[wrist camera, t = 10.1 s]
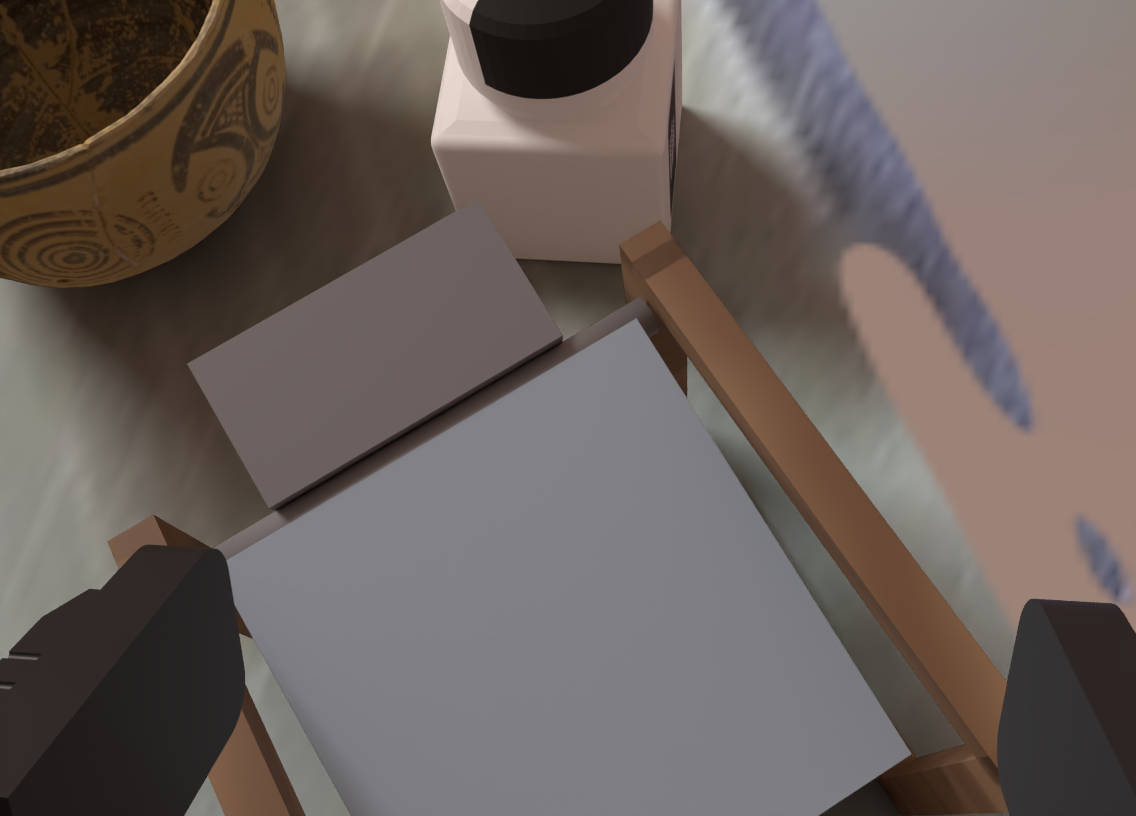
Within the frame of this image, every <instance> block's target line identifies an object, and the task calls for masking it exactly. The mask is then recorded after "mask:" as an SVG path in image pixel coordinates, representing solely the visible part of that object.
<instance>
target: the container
mask: <svg viewBox="0 0 1136 816" xmlns="http://www.w3.org/2000/svg"><path fill="white" fill-rule="evenodd" d="M440 3H441V6H442V10H443V13H444V16H445V20H446V23H447V26H448V30H449V33H450V39H449V45H448V50H447V56H446V61H445V66H444V72H443V77H442V82H441V88H440V93H439V98H438V104H437V109H436V114H435V120H434V125H433V131H432V136H431V147H432V149H433V152H434V155H435V157H436V160H437V163H438V165H439V168H440V171H441V173H442V176H443V178H444V181H445V184H446V186H447V189H448V192H449V194H450V197H451V199H452V202H453V205H454V207H455V210H456V211H457V210H459V209H460V208H462V207H464V206H466V205H468V204H469V203H471V202H473V201H475V200H476V199H479V201H480V202H481V204H482V206H483V207H484V209H485V211H486V212H487V214H488V215H489V217H490V219H491V220H492V222H493V223H494V225H495V227H496V228H497V230H498V232H499V233H500V235H501V236H502V238H503V240H504V241H505V243H506V244H507V246H508V248H509V249H510V251H511V252H512V254H513V256H514V257H515V259H534V260H554V261H573V262H593V263H613V264H621V258H620V249H619V244H620V243H622V242H623V241H625V240H627V239H629V238H630V237H632V236H634V235H635V234H637V233H639V232H641V231H642V230H644V229H646V228H648V227H649V226H651V225H653V224H654V223H656V222H658V221H661V222H662V223H663V225H664V226H665V227H666V229H667V230H668V231H669V233H670V231H671V220H672V210H673V199H674V188H675V177H676V166H677V155H678V144H679V133H680V122H681V112H682V30H681V0H440Z"/></svg>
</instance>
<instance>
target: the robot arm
mask: <svg viewBox="0 0 1136 816" xmlns="http://www.w3.org/2000/svg"><path fill="white" fill-rule="evenodd" d="M244 691H245V670H244V662H243V656H242V650H241V643H240V637H239V631H238V624H237V618H236V612H235V606H234V599H233V593H232V587H231V580H230V574H229V569H228V564H227V561H226V559H225V557H224V555H223V554H222V552H221V551H220V550H218V549H214V548H199V547H183V546H166V545H149V544H148V545H144V546H142V547H140V548H139V549H138V550H137V551H136V552H135V553H134V554H133V555H132V556H131V557H130V558H129V559H128V560H127V561H126V562H125V564H124V565H123V566H122V567H121V568H120V569H119V570H118V571H117V572H116V573H115V575H114V576H113V577H112V578H111V579H110V580H109V581H108V582H107V583H106V584H105V585H104V587H103V588H102V589H101V590H97V589H88V590H87V591H85V592H83V593H82V594H80V595H78V596H77V597H75V598H73V599H72V600H70V601H68V602H67V603H65V604H63V605H62V606H60V607H58V608H57V609H55V610H53V611H51V612H50V613H48V614H46V615H45V616H43V617H42V618H41V619H40V620H39V621H38V622H37V623H36V624H35V625H34V626H33V627H32V628H31V629H30V630H29V631H28V632H27V633H26V634H25V635H24V636H23V637H22V639H21V640H20V641H19V642H18V643H17V644H16V645H15V646H14V647H13V648H12V649H11V650H10V651H9V657H8V659H7V658H2V659H1V660H0V816H184V815H185V813H186V812H187V810H188V808H189V806H190V805H191V803H192V801H193V800H194V798H195V796H196V794H197V793H198V791H199V789H200V788H201V786H202V784H203V783H204V781H205V779H206V777H207V776H208V774H209V772H210V771H211V769H212V767H213V766H214V764H215V762H216V760H217V759H218V757H219V755H220V754H221V752H222V750H223V748H224V747H225V745H226V743H227V742H228V740H229V738H230V737H231V735H232V733H233V731H234V729H235V727H236V724H237V722H238V719H239V716H240V713H241V709H242V704H243V699H244ZM997 763H998V773H999V780H1000V785H1001V790H1002V793H1003V797H1004V800H1005V803H1006V806H1007V808H1008V811H1009V814H1010V816H1136V633H1135V632H1134V630H1133V629H1132V627H1131V625H1130V623H1129V622H1128V620H1127V618H1126V617H1125V615H1124V613H1123V612H1122V611H1121V609H1120V608H1119V607H1118V606H1117V605H1115V604H1112V603H1095V602H1078V601H1061V600H1045V599H1030V600H1029V601H1028V602H1027V603H1026V604H1025V606H1024V608H1023V611H1022V614H1021V617H1020V621H1019V625H1018V631H1017V636H1016V641H1015V646H1014V651H1013V656H1012V661H1011V666H1010V671H1009V676H1008V681H1007V686H1006V691H1005V696H1004V701H1003V706H1002V711H1001V716H1000V721H999V727H998V736H997Z"/></svg>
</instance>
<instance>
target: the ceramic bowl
mask: <svg viewBox="0 0 1136 816" xmlns="http://www.w3.org/2000/svg"><path fill="white" fill-rule="evenodd" d="M285 78H286V71H285V60H284V48H283V41H282V33H281V29H280V24H279V20H278V15H277V11H276V6H275V2H274V0H0V278H4V279H8V280H13V281H17V282H21V283H26V284H30V285H35V286H43V287H53V288H65V287H90V286H95V285H101V284H106V283H112V282H115V281H118V280H122V279H125V278H128V277H131V276H134V275H137V274H140V273H142V272H145V271H147V270H149V269H151V268H154V267H156V266H158V265H161V264H163V263H165V262H168V261H170V260H171V259H173V258H175V257H176V256H178V255H180V254H181V253H183V252H185V251H186V250H188V249H190V248H191V247H193V246H194V245H196V244H197V243H199V242H200V241H201V240H203V239H204V238H205V237H206V236H207V235H209V234H210V233H211V232H212V231H214V230H215V229H216V228H217V227H219V226H220V225H221V224H222V223H223V222H225V221H226V220H227V219H228V218H229V217H230V216H231V215H232V214H233V212H234V211H235V210H236V209H237V208H238V207H239V206H240V205H241V203H242V202H243V201H244V200H245V199H246V198H247V196H248V195H249V193H250V192H251V190H252V189H253V187H254V186H255V184H256V183H257V181H258V180H259V178H260V177H261V175H262V173H263V171H264V169H265V168H266V166H267V163H268V160H269V158H270V155H271V152H272V150H273V147H274V144H275V141H276V138H277V135H278V132H279V128H280V124H281V120H282V116H283V110H284V102H285Z"/></svg>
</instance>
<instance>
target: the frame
mask: <svg viewBox="0 0 1136 816" xmlns="http://www.w3.org/2000/svg"><path fill="white" fill-rule="evenodd" d="M619 249H620V258H621V266H622V274H623V283H624V291H625V300H626V304H628V303H630V302H632V301H633V300H635V299H637V298H638V297H639V298H641V299H642V300H643V301H644V302H645V303H646V305H647V306H648V307H649V309H650V310H651V312H652V314H653V316H654V317H655V319H656V322H657V324H658V327H659V332H658V333H656V334H655V335H653V336H651V337H650V338H649V339H650V341H651V342H652V344H653V345H654V347H655V349H656V350H657V352H658V353H659V355H660V356H661V358H662V360H663V361H664V363H665V364H666V366H667V368H668V369H669V371H670V372H671V374H672V375H673V377H674V379H675V380H676V382H677V383H678V385H679V387H680V388H681V390H682V391H683V393H684V394H685V396H686V398H687V356H688V358H689V359H690V360H691V362H692V363H693V365H694V366H695V367H696V369H697V370H698V371H699V373H700V374H701V376H702V377H703V378H704V380H705V381H706V383H707V384H708V385H709V387H710V388H711V390H712V391H713V392H714V394H715V395H716V397H717V398H718V399H719V401H720V402H721V404H722V405H723V406H724V408H725V409H726V411H727V412H728V413H729V415H730V416H731V417H732V419H733V420H734V422H735V423H736V424H737V426H738V427H739V429H740V430H741V431H742V433H743V434H744V436H745V437H746V438H747V440H748V441H749V443H750V444H751V445H752V447H753V448H754V450H755V451H756V452H757V454H758V455H759V457H760V458H761V459H762V461H763V462H764V463H765V465H766V466H767V468H768V469H769V470H770V472H771V473H772V475H773V476H774V477H775V479H776V480H777V482H778V483H779V484H780V486H781V487H782V489H783V490H784V491H785V493H786V494H787V496H788V497H789V498H790V500H791V501H792V503H793V504H794V505H795V507H796V508H797V509H798V511H799V512H800V514H801V515H802V516H803V518H804V519H805V521H806V522H807V523H808V525H809V526H810V528H811V529H812V530H813V532H814V533H815V535H816V536H817V537H818V539H819V540H820V542H821V543H822V544H823V546H824V547H825V549H826V550H827V551H828V553H829V554H830V555H831V557H832V558H833V560H834V561H835V562H836V564H837V565H838V567H839V568H840V569H841V571H842V572H843V574H844V575H845V576H846V578H847V579H848V581H849V582H850V583H851V585H852V586H853V588H854V589H855V590H856V592H857V593H858V595H859V596H860V597H861V599H862V600H863V601H864V603H865V604H866V606H867V607H868V608H869V610H870V611H871V613H872V614H873V615H874V617H875V618H876V620H877V621H878V622H879V624H880V625H881V627H882V628H883V629H884V631H885V632H886V634H887V635H888V636H889V638H890V639H891V641H892V642H893V643H894V645H895V646H896V647H897V649H898V650H899V652H900V653H901V654H902V656H903V657H904V659H905V660H906V661H907V663H908V664H909V666H910V667H911V668H912V670H913V671H914V673H915V674H916V675H917V677H918V678H919V680H920V681H921V682H922V684H923V685H924V686H925V688H926V689H927V691H928V692H929V693H930V695H931V696H932V698H933V699H934V700H935V702H936V703H937V705H938V706H939V707H940V709H941V710H942V712H943V713H944V714H945V716H946V717H947V719H948V720H949V721H950V723H951V724H952V726H953V727H954V728H955V730H956V731H957V732H958V734H959V735H960V737H961V738H962V739H963V741H964V742H965V744H964V745H961V746H957V747H954V748H950V749H947V750H943V751H940V752H936V753H933V754H929V755H926V756H922V757H919V758H916V756H915V755H914V754H913V752H912V751H911V749H910V748H909V746H908V745H907V744H906V742H905V741H904V739H903V738H902V736H901V735H900V733H899V732H898V731H897V732H898V733H899V735H900V737H901V738H902V740H903V741H904V743H905V745H906V746H907V748H908V749H909V751H910V752H911V755H909V756H908V757H906V758H905V759H903V760H902V761H900V762H899V763H897V764H896V765H894V766H893V767H891V768H890V769H888V770H887V771H885V772H884V773H882V774H881V775H879V776H878V777H876V779H877V780H878V782H879V783H880V785H881V786H882V788H883V789H884V791H885V792H886V794H887V795H888V797H889V798H890V800H891V801H892V803H893V804H894V805H895V807H896V808H897V810H898V811H899V813H900V814H901V816H910V815H938V814H966V813H994V812H1009V811H1008V808H1007V806H1006V803H1005V800H1004V797H1003V793H1002V790H1001V785H1000V780H999V773H998V763H997V736H998V727H999V721H1000V716H1001V711H1002V706H1003V701H1004V696H1005V691H1006V686H1007V682H1006V681H1005V679H1004V678H1003V677H1002V675H1001V674H1000V673H999V671H998V670H997V669H996V667H995V666H994V665H993V663H992V662H991V661H990V659H989V658H988V657H987V655H986V654H985V653H984V651H983V650H982V649H981V647H980V646H979V645H978V643H977V642H976V641H975V639H974V638H973V637H972V635H971V634H970V633H969V631H968V630H967V629H966V627H965V626H964V625H963V623H962V622H961V621H960V619H959V618H958V617H957V615H956V614H955V613H954V611H953V610H952V609H951V607H950V606H949V605H948V603H947V602H946V601H945V599H944V598H943V597H942V595H941V594H940V593H939V591H938V590H937V589H936V587H935V586H934V585H933V583H932V582H931V581H930V579H929V578H928V577H927V575H926V574H925V573H924V571H923V570H922V569H921V567H920V566H919V565H918V563H917V562H916V561H915V559H914V558H913V557H912V555H911V554H910V553H909V551H908V550H907V549H906V547H905V546H904V545H903V543H902V542H901V541H900V539H899V538H898V537H897V535H896V534H895V533H894V531H893V530H892V529H891V527H890V526H889V525H888V523H887V522H886V521H885V519H884V518H883V517H882V515H881V514H880V513H879V511H878V510H877V509H876V507H875V506H874V505H873V503H872V502H871V501H870V499H869V498H868V497H867V495H866V494H865V493H864V491H863V490H862V489H861V487H860V486H859V485H858V483H857V482H856V481H855V479H854V478H853V477H852V475H851V474H850V473H849V471H848V470H847V469H846V467H845V466H844V465H843V463H842V462H841V461H840V459H839V458H838V457H837V455H836V454H835V453H834V451H833V450H832V449H831V447H830V446H829V445H828V443H827V442H826V441H825V439H824V438H823V437H822V435H821V434H820V433H819V431H818V430H817V429H816V427H815V426H814V425H813V423H812V422H811V421H810V419H809V418H808V417H807V415H806V414H805V413H804V411H803V410H802V409H801V407H800V406H799V405H798V403H797V402H796V401H795V399H794V398H793V397H792V395H791V394H790V393H789V391H788V390H787V389H786V387H785V386H784V385H783V383H782V382H781V381H780V379H779V378H778V377H777V375H776V374H775V373H774V371H773V370H772V369H771V367H770V366H769V365H768V363H767V362H766V361H765V359H764V358H763V357H762V355H761V354H760V353H759V351H758V350H757V349H756V347H755V346H754V345H753V343H752V342H751V341H750V339H749V338H748V337H747V335H746V334H745V333H744V331H743V330H742V329H741V327H740V326H739V325H738V323H737V322H736V321H735V319H734V318H733V317H732V315H731V314H730V313H729V311H728V310H727V309H726V307H725V306H724V305H723V303H722V302H721V301H720V299H719V298H718V297H717V295H716V294H715V293H714V291H713V290H712V289H711V287H710V286H709V285H708V283H707V282H706V281H705V279H704V278H703V277H702V275H701V274H700V273H699V271H698V270H697V269H696V267H695V266H694V265H693V263H692V262H691V261H690V259H689V258H688V257H687V255H686V254H685V253H684V251H683V250H682V249H681V247H680V246H679V245H678V243H677V242H676V241H675V239H674V238H673V237H672V235H671V234H670V233H669V231H668V230H667V229H666V227H665V226H664V225H663V223H662V222H661V221H658V222H656V223H654V224H653V225H651V226H649V227H648V228H646V229H644V230H642V231H641V232H639V233H637V234H635V235H634V236H632V237H630V238H629V239H627V240H625V241H623V242H622V243H620V244H619ZM108 544H109V547H110V549H111V551H112V554H113V556H114V558H115V561H116V563H117V565H118V567H119V569H120V568H121V567H122V566H123V565H124V564H125V562H126V561H127V560H128V559H129V558H130V557H131V556H132V555H133V554H134V553H135V552H136V551H137V550H138V549H139V548H140V547H142V546H144V545H148V544H149V545H166V546H183V547H199V548H210V547H208V546H207V545H205V544H203V543H201V542H200V541H198V540H196V539H195V538H193V537H191V536H189V535H188V534H186V533H184V532H182V531H181V530H179V529H177V528H175V527H174V526H172V525H170V524H169V523H167V522H165V521H163V520H162V519H160V518H158V517H156V516H155V515H152V516H151V517H149V518H147V519H145V520H144V521H142V522H140V523H138V524H137V525H135V526H133V527H132V528H130V529H128V530H126V531H125V532H123V533H121V534H120V535H118V536H116V537H114V538H113V539H111V540H109V541H108ZM234 606H235V605H234ZM235 612H236V618H237V624H238V631H239V633H240V634H243V635H245V636H247V637H250V638H252V639H253V637H252V635H251V634H250V632H249V630H248V628H247V626H246V625H245V623H244V621H243V619H242V617H241V616H240V614H239V612H238V610H237V608H236V606H235ZM892 724H893V723H892ZM893 726H894V725H893ZM894 727H895V726H894ZM895 729H896V728H895ZM896 730H897V729H896ZM208 777H209V779H210V782H211V784H212V786H213V788H214V791H215V793H216V795H217V798H218V800H219V802H220V805H221V807H222V809H223V812H224V814H225V816H306V815H305V813H304V811H303V809H302V807H301V805H300V802H299V800H298V798H297V796H296V794H295V792H294V789H293V787H292V785H291V783H290V781H289V778H288V776H287V774H286V772H285V770H284V768H283V765H282V763H281V761H280V759H279V757H278V755H277V752H276V750H275V748H274V746H273V744H272V741H271V739H270V737H269V735H268V733H267V731H266V728H265V726H264V724H263V722H262V720H261V717H260V715H259V713H258V711H257V709H256V707H255V704H254V702H253V700H252V698H251V696H250V694H249V691H248V689H247V687H246V685H245V691H244V699H243V704H242V709H241V713H240V716H239V719H238V722H237V724H236V727H235V729H234V731H233V733H232V735H231V737H230V738H229V740H228V742H227V743H226V745H225V747H224V748H223V750H222V752H221V754H220V755H219V757H218V759H217V760H216V762H215V764H214V766H213V767H212V769H211V771H210V772H209V774H208Z"/></svg>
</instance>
